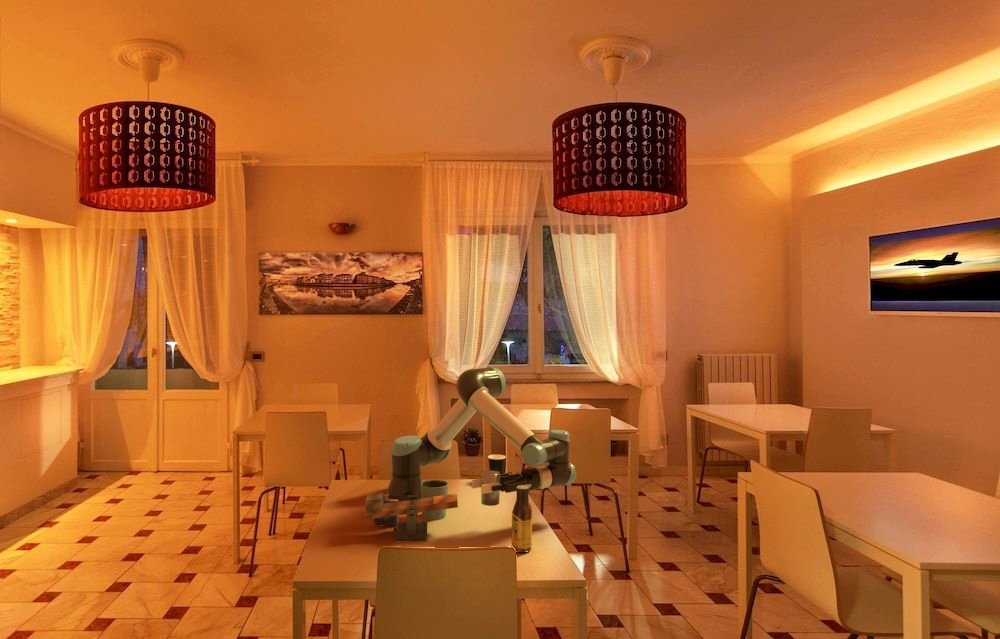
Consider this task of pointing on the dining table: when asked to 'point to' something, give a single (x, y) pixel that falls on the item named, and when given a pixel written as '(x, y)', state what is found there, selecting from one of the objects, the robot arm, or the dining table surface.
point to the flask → (391, 519)
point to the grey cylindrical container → (431, 490)
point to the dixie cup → (496, 463)
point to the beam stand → (411, 526)
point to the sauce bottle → (522, 521)
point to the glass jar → (492, 497)
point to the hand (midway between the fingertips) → (477, 486)
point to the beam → (379, 509)
